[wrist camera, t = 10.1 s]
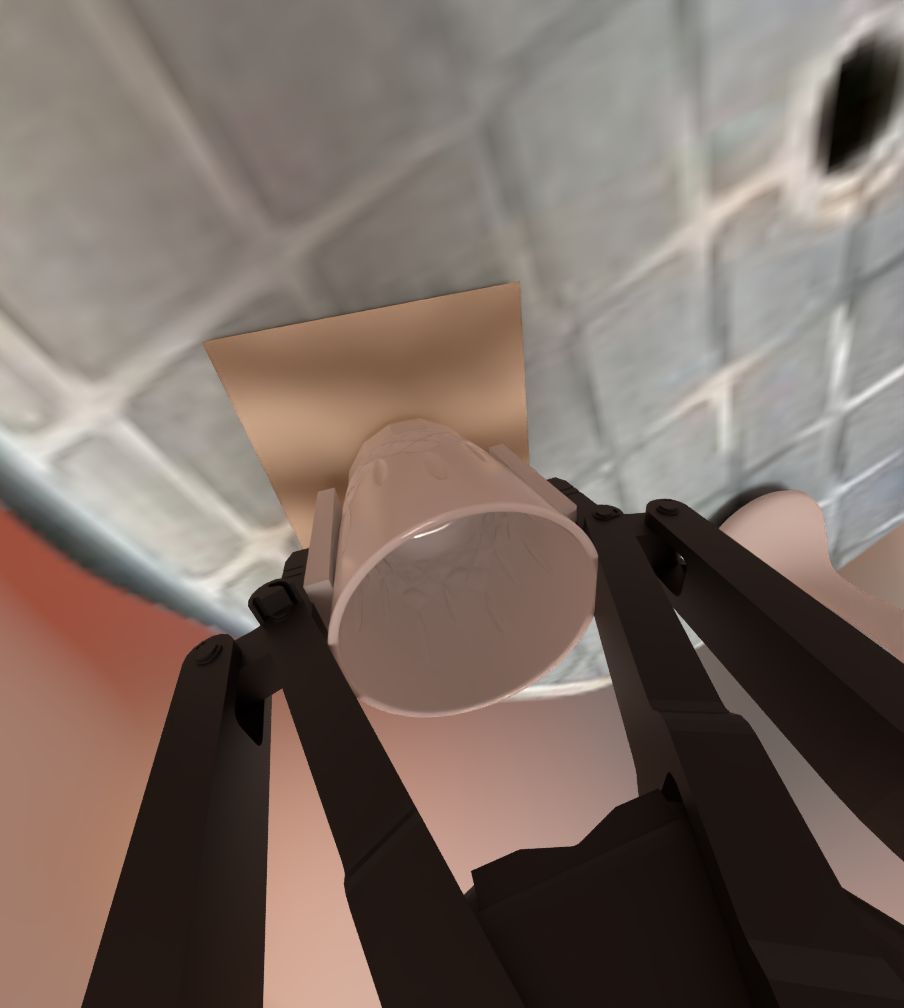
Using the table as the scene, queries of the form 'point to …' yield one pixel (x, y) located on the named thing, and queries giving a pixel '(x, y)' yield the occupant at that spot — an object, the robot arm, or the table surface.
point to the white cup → (451, 576)
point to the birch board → (374, 386)
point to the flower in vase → (811, 561)
